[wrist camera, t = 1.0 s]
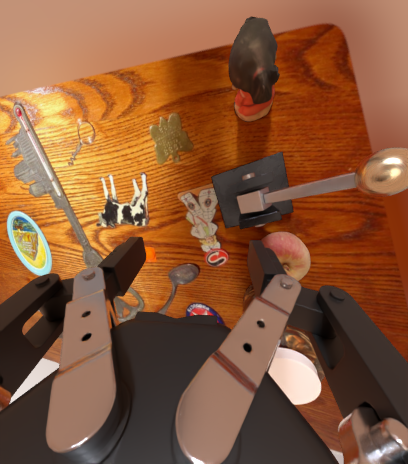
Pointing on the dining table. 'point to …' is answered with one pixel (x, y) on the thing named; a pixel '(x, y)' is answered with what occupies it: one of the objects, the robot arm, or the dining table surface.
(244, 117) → the figurine
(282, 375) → the jar
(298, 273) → the apple
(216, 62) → the dining table surface
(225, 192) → the bracket
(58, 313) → the robot arm
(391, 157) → the lever
